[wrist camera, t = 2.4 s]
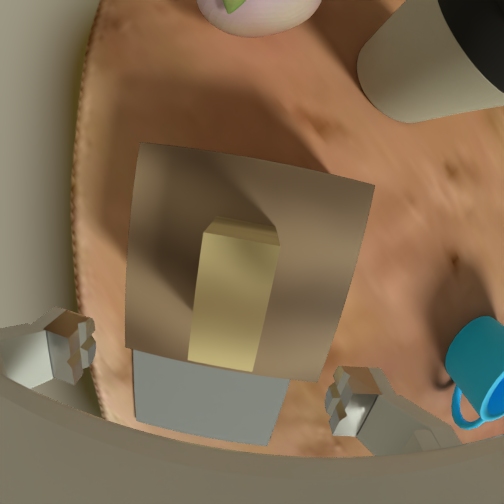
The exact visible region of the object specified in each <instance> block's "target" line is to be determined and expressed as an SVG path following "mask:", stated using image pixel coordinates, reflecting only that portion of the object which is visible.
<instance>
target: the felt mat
mask: <svg viewBox="0 0 504 504" xmlns="http://www.w3.org/2000/svg"><path fill="white" fill-rule="evenodd" d="M133 365H134V393H135V410H136V421H139V422H142V423H146V424H149V425H153V426H157V427H161V428H165V429H169V430H173V431H178V432H182V433H187V434H191V435H196V436H202V437H207V438H212V439H218V440H224V441H231V442H237V443H245V444H253V445H261V446H267V445H268V443H269V440H270V437H271V434H272V432H273V429H274V426H275V423H276V421H277V418H278V415H279V412H280V409H281V406H282V403H283V400H284V397H285V395H286V392H287V389H288V386H289V382H290V380H289V379H281V378H274V377H266V376H259V375H253V374H246V373H240V372H234V371H228V370H223V369H217V368H212V367H207V366H202V365H197V364H192V363H187V362H183V361H178V360H174V359H169V358H165V357H161V356H157V355H153V354H149V353H145V352H141V351H137V350H133Z"/></svg>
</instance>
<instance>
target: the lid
mask: <svg viewBox="0 0 504 504" xmlns="http://www.w3.org/2000/svg"><path fill="white" fill-rule="evenodd" d="M374 189H375V185H372V184H369V183H365V182H361V181H357V180H353V179H349V178H345V177H341V176H337V175H333V174H329V173H324V172H320V171H316V170H311V169H307V168H302V167H297V166H293V165H288V164H283V163H278V162H273V161H267V160H262V159H257V158H251V157H245V156H239V155H234V154H227V153H221V152H215V151H208V150H201V149H194V148H186V147H178V146H170V145H162V144H152V143H143V142H140V146H139V152H138V159H137V165H136V172H135V180H134V188H133V196H132V205H131V214H130V225H129V237H128V251H127V268H126V293H125V347H126V348H130V349H133V350H137V351H141V352H145V353H149V354H153V355H157V356H161V357H165V358H169V359H174V360H178V361H183V362H187V363H192V364H197V365H202V366H207V367H212V368H217V369H223V370H228V371H234V372H240V373H246V374H253V375H259V376H266V377H274V378H281V379H289V380H298V381H307V382H318V380H319V377H320V374H321V372H322V369H323V366H324V364H325V361H326V358H327V355H328V352H329V350H330V347H331V344H332V341H333V338H334V335H335V332H336V329H337V326H338V323H339V320H340V317H341V314H342V310H343V307H344V304H345V301H346V298H347V294H348V291H349V287H350V284H351V281H352V277H353V274H354V270H355V267H356V263H357V259H358V256H359V252H360V248H361V244H362V240H363V236H364V232H365V228H366V224H367V220H368V216H369V211H370V207H371V203H372V198H373V193H374Z"/></svg>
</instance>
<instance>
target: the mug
mask: <svg viewBox="0 0 504 504" xmlns="http://www.w3.org/2000/svg"><path fill="white" fill-rule="evenodd" d="M445 367H446V370H447V373H448V374H449V376H450V377H451V378H452V380H453V381H454V382H455V383H456V386H455V390H454V393H453V397H452V406H451V407H452V416H453V419H454V421H455V423H456V424H457V425H458V426H459V427H460V428H463V429H467V430H469V429H473V428H476V427H478V426H480V425H481V424H483V423H484V422H485V421H493V420H496V419H498V418H500V417H502V416H503V415H504V326H503V325H502V324H501V323H499V322H498V321H497V320H495V319H494V318H492V317H490V316H482V317H479V318H477V319H475V320H472V321H471V322H470V323H468V324H467V325H466V326H465V327H463V329H462V330H461V331H460V332H459V333H458V334H457V336H456V337H455V338H454V340H453V342H452V343H451V345H450V347H449V349H448V352H447V355H446V361H445ZM461 393H463V394H464V395H465V397H466V398H467V399H468V401H469V402H470V403H471V405H472V406H473V408H474V409H475V410H476V412H477V413H478V414H479V416H480V418H478V419H477V420H476V421H473V422H468V421H466V420H465V419H463V417H462V415H461V412H460V399H461Z"/></svg>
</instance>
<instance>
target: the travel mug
mask: <svg viewBox="0 0 504 504" xmlns="http://www.w3.org/2000/svg"><path fill="white" fill-rule="evenodd" d="M357 74H358V79H359V82H360V85H361V87H362V89H363V91H364V93H365V94H366V96H367V97H368V99H369V100H370V101H371V103H372V104H373V105H374V106H375V107H376V108H377V109H378V110H379V111H381V112H382V113H383V114H385V115H386V116H388V117H390V118H392V119H394V120H397V121H400V122H405V123H417V122H421V121H426V120H430V119H435V118H439V117H444V116H449V115H454V114H459V113H464V112H470V111H475V110H481V109H487V108H493V107H499V106H504V0H406V1H405V2H404V3H403V4H402V5H401V6H400V7H399V8H398V9H397V10H396V11H395V12H394V13H393V15H392V16H391V17H390V18H389V19H388V20H387V21H386V22H385V23H384V24H383V25H382V26H381V27H380V28H379V29H378V30H377V32H376V33H375V34H374V35H373V36H372V37H371V38H370V39H369V40H368V41H367V42H366V43H365V45H364V46H363V47H362V49H361V51H360V53H359V55H358V59H357Z"/></svg>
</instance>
